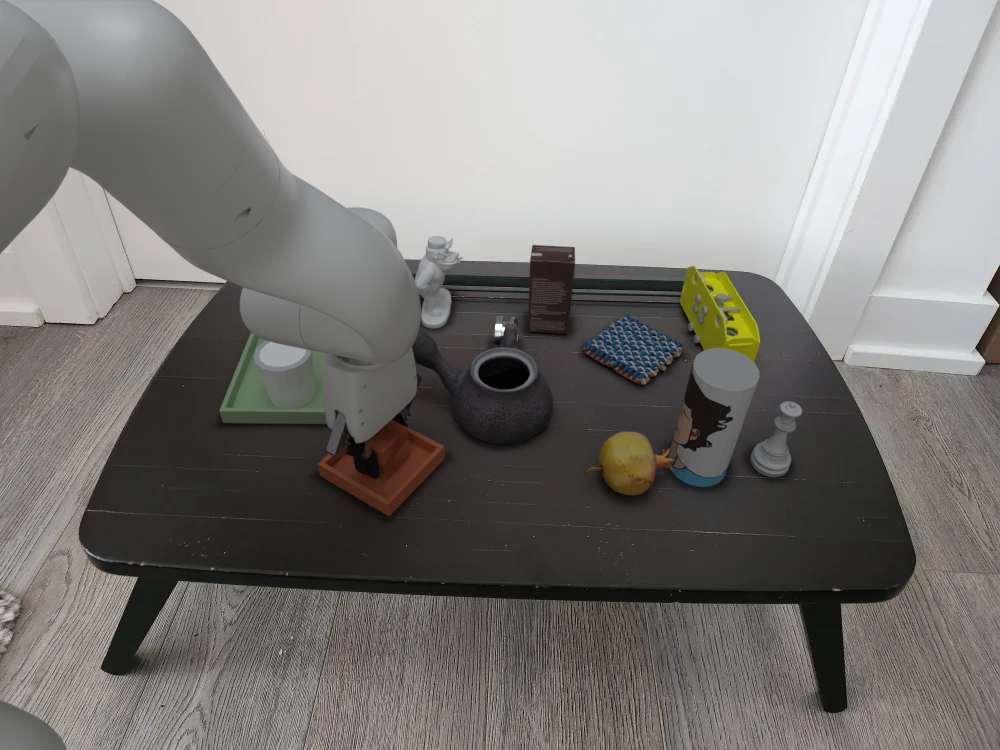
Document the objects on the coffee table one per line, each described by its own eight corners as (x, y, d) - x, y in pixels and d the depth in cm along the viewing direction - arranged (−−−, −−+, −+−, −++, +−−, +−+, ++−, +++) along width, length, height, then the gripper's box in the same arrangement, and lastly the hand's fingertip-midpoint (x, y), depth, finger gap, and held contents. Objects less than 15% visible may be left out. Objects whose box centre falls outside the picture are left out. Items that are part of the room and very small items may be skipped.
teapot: (556, 370, 97) (562, 310, 90) (548, 455, 85) (554, 394, 79) (417, 357, 98) (413, 297, 92) (392, 439, 87) (384, 377, 80)
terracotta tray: (389, 516, 78) (387, 504, 77) (319, 475, 82) (317, 463, 81) (445, 458, 85) (444, 446, 83) (378, 423, 89) (377, 410, 87)
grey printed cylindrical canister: (707, 438, 88) (737, 343, 78) (737, 479, 83) (772, 383, 73) (657, 450, 86) (681, 354, 76) (685, 492, 82) (714, 396, 72)
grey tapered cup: (309, 416, 89) (299, 373, 84) (255, 409, 89) (243, 366, 85) (327, 379, 94) (320, 337, 89) (277, 373, 94) (266, 330, 90)
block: (385, 480, 80) (381, 452, 77) (354, 462, 82) (349, 435, 79) (410, 454, 83) (407, 427, 80) (380, 438, 85) (376, 411, 82)
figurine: (458, 329, 103) (457, 257, 95) (413, 327, 103) (407, 255, 95) (464, 292, 110) (463, 222, 102) (421, 290, 110) (416, 220, 102)
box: (568, 316, 106) (576, 245, 98) (568, 335, 102) (576, 263, 94) (527, 313, 106) (531, 242, 98) (525, 333, 103) (529, 260, 95)
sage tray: (347, 424, 88) (345, 412, 87) (223, 423, 88) (218, 410, 87) (376, 287, 110) (375, 275, 109) (276, 285, 110) (274, 274, 109)
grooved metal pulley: (496, 336, 102) (497, 308, 98) (517, 338, 102) (519, 309, 98) (493, 359, 98) (494, 330, 95) (515, 361, 98) (516, 332, 95)
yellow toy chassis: (675, 306, 108) (686, 258, 103) (712, 304, 109) (724, 257, 103) (710, 377, 96) (724, 328, 91) (751, 374, 97) (768, 325, 91)
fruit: (593, 479, 75) (687, 472, 76) (583, 422, 79) (672, 415, 80) (585, 506, 81) (672, 499, 82) (576, 451, 85) (659, 445, 86)
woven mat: (686, 354, 100) (689, 342, 99) (641, 391, 94) (643, 379, 93) (624, 321, 105) (626, 310, 104) (579, 354, 99) (580, 343, 98)
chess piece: (789, 456, 86) (816, 395, 79) (786, 482, 83) (813, 421, 76) (752, 445, 87) (775, 384, 81) (747, 471, 84) (770, 410, 78)
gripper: (392, 280, 77) (403, 402, 89) (273, 365, 67) (305, 491, 79) (448, 304, 74) (452, 427, 86) (334, 398, 64) (357, 523, 76)
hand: (382, 456), depth 82 cm, fingers closed on block, 4 cm apart
